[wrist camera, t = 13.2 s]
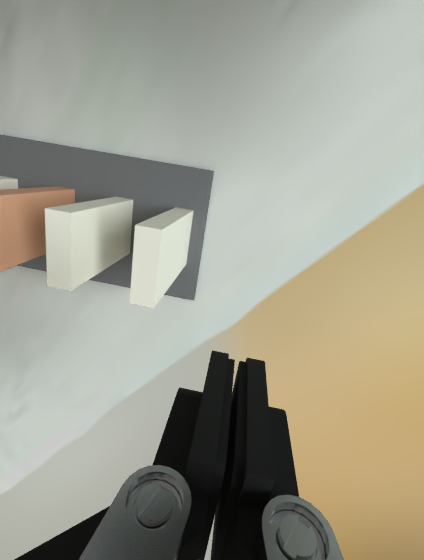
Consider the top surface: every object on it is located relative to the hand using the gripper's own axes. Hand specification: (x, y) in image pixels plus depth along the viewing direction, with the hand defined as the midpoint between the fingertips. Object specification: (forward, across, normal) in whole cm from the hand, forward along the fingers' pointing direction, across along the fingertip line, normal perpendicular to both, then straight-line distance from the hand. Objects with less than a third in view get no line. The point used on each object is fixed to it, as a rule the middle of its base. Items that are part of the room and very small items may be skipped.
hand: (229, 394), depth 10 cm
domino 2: (+19, +6, -1) cm, 20 cm away
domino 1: (+19, +11, -1) cm, 22 cm away
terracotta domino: (+19, +17, -1) cm, 25 cm away
